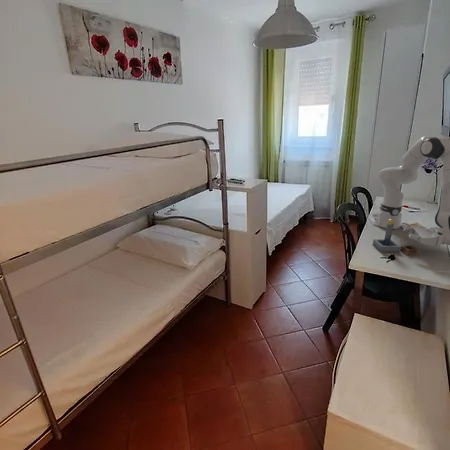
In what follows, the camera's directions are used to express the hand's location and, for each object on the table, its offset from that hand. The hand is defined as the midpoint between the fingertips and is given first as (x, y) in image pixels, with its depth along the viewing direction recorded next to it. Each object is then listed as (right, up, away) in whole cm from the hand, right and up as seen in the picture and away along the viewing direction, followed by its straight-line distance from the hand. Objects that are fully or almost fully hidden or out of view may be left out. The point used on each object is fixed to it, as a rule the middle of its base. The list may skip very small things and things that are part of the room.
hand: (405, 233), depth 165 cm
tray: (-8, -9, +5) cm, 13 cm away
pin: (-8, -8, +5) cm, 12 cm away
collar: (+2, -11, +1) cm, 11 cm away
